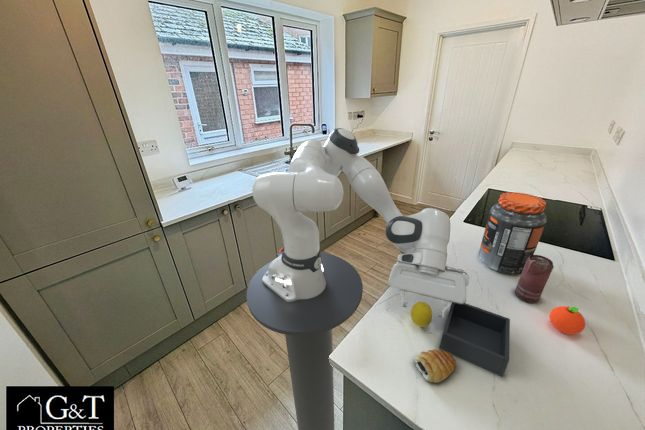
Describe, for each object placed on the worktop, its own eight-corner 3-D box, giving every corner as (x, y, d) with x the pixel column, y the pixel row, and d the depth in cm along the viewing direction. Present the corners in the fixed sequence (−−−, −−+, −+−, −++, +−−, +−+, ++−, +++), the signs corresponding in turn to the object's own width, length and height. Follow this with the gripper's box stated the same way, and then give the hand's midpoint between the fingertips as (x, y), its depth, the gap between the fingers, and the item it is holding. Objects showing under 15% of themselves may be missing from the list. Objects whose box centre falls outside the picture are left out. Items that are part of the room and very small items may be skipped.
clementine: (555, 314, 75) (565, 295, 72) (586, 331, 69) (598, 312, 66) (540, 325, 72) (549, 305, 69) (571, 344, 66) (582, 324, 63)
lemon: (428, 318, 75) (432, 297, 71) (431, 334, 70) (435, 313, 67) (408, 315, 76) (411, 294, 73) (409, 331, 71) (413, 309, 68)
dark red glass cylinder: (508, 292, 83) (522, 256, 77) (523, 287, 85) (538, 252, 79) (527, 306, 78) (543, 268, 72) (543, 300, 80) (560, 263, 73)
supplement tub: (484, 246, 107) (502, 186, 95) (531, 262, 97) (557, 197, 85) (470, 263, 97) (488, 199, 86) (521, 283, 87) (548, 213, 75)
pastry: (442, 349, 66) (444, 339, 65) (463, 373, 61) (466, 363, 59) (411, 361, 64) (413, 351, 62) (429, 388, 58) (432, 378, 56)
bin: (439, 348, 67) (442, 333, 64) (449, 313, 77) (452, 298, 74) (502, 376, 60) (509, 360, 57) (504, 333, 70) (510, 318, 67)
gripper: (467, 272, 74) (462, 323, 70) (393, 257, 81) (385, 303, 78) (472, 269, 68) (466, 324, 65) (392, 253, 76) (383, 302, 72)
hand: (421, 312), depth 71 cm, fingers open, 8 cm apart
